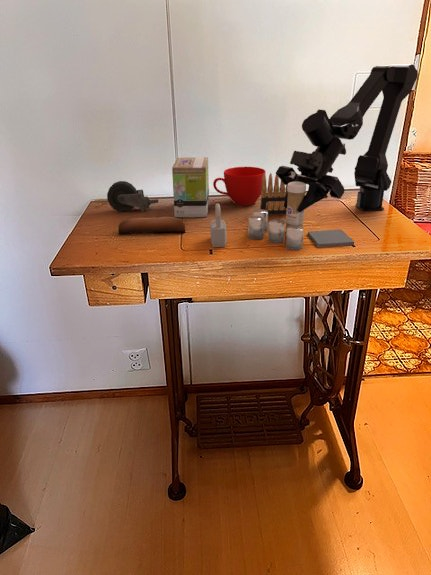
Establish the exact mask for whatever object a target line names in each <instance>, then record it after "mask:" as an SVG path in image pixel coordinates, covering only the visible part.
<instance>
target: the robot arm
mask: <svg viewBox="0 0 431 575" xmlns="http://www.w3.org/2000/svg"><path fill="white" fill-rule="evenodd" d="M418 75H419V73H418V69H417V68H416V66H415V65H414V64H412V63H411V64H408V63H406V64H405V63H404V64H403V63H402V64H400V63H398V64H397V63H395V64H393V63H392V64H388V65H387V64H385V65H383V64H379V65H375V66H373V67H372V69H371V71H370V74H369V75H368V77H367V78H366V79H365V81H364V82H363V83H362V85H361V86H360V87H359V89H358V90H357V92H356V93H355V94H354V96H353V97H352V98H351V100H350V101H349V102H348V103H347V104H346V105H344V106H342V107H341V108H339V109H337V111H335V112H334V113H333V114H332V115H331V116H330V117H329V116H328V113H327V111H326V109H317V110H316V112H314V113H312V114H309V115H308V116H307V117H306V118H305V119H304V120H303V121H302V124H301V129H302V131H303V132H304V134H305V135H306V138H307V139H308V140H309V141H310V143H311V145H312V146H314V147H316V149H315V150H314V151H312V152H311V153H310V152H304V151H298V150H293V153H292V156H291V159H290V162H289V164H290V165H294V166H296V167H297V171H298V172H299V174H298V173H297V172H296V170H295V169H294V168H293V167H291V166H286V165H281V166H279V167H278V168H277V170H276V172H275V176H276V175H277V176H278V177H279V181H280V182H281V181H282V182H283V183H284V184H285V187H286V186H287V187H288V183H290V182H303V183H305V184H306V185H308V190H307V192H305V197H304V198H303V200H302V202H301V203H300V205H299V207H298V209H297V211H298V212H302V211H303V210H304V211H305V210H306V209H308V208H310V207H312V206H313V205H314V204H316V203H318V202H319V201H321V200H323V199H328V197H329V196H330V197H331V198H334V199H338V200H339V199H341V198H342V197H343V195H344V193H345V186H344V185H343V184H342V182H341V180H340V179H339V178H338V176H335V175H330V174H329V175H328V173H333V171H334V168H333V167H332V166H333V165H334V163H335V162H336V160H337V158H338V157H339V155H344V156H345V155H346V154H347V149H346V143H343V142H342V140H348V141H349V140H354V139H355V138H356V137H357V135H358V133H360V130H361V129H362V127H363V126H364V125H363V124H364V116H365V114H366V112H368V110H369V109H370V108H371V106H372V105H373V104H374V102H375V101H376V100H377V98H378V97H379V95H380V93H381V92H382V96H383V99H382V102H381V105H380V109H379V112H378V116H377V119H376V122H375V125H374V129H373V133H372V136H371V139H370V142H369V145H368V149H367V151H366V152H365V153H364V154H363V155H362V154H360V155H358V158H357V162H356V165H355V167H354V173H353V174H354V182H355V186H356V187H359V191H358V192H357V194H356V196H357V197H356V203H355V206H356V207H357V208H359V209H360V210H361V211H364V212H371V211H383V210H384V211H385V207H383V202H384V201H383V200H384V197H385V196H384V194H385V192H386V191H388V190H389V189H390V187H391V185H392V179H391V178H390V176H389V174H388V172H387V171H388V167H389V164H388V160H387V155H386V154H387V151H388V148H389V143H390V140H391V138H392V134H393V131H394V128H395V124H396V122H397V119H398V118H397V117H398V115H399V112H400V108H401V106H402V102H403V101H404V99H406V98H407V97H408V96H409V95H410V94H411V92H412V90H413V88H414V86H415V83H416V81H417V79H418V77H419V76H418ZM341 139H342V140H341ZM328 194H329V196H328ZM287 199H288V191H287V193H286V197H285V202H284V208H287Z"/></svg>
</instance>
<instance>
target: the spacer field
mask: <svg viewBox="0 0 431 575" xmlns="http://www.w3.org/2000/svg"><path fill="white" fill-rule="evenodd" d="M247 226H248V229H247V230H248V236H247V237H248V239H250V240H254V241H255V240H258V241H259V240H262V239H264V237H265V233H266V232H268V235H267V236H268V239H267V240H268V241H267V242H269V243H270V244H274V245H275V244H283V243H284V242H285V249H287V250H289V251H301V250H302V249H303V243H304V229H305V227H304V226H299V225H291V226H288V227H287V234H285V231H286V220H284V219H281V218H273V219H269V215H268V211H266V210H260V209H255V210H253V211H252V215H251V216H249V217H248V225H247ZM285 235H286V237H285ZM285 238H286V239H285ZM285 240H286V241H285Z"/></svg>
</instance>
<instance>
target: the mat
mask: <svg viewBox="0 0 431 575" xmlns="http://www.w3.org/2000/svg"><path fill="white" fill-rule="evenodd" d="M307 235H308V237H309V238H310V239H311V240H312V242H313V243H314V244H315V245H316V247H317V248H328V247H342V246H354V245H355V241H354V240H353V239H352V238H351V237H350V236H349V235H348V234H347V233H346V232H345V231H344V230H343V229H342V228H340V229H325V230H308V231H307Z"/></svg>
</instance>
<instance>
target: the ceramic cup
mask: <svg viewBox="0 0 431 575" xmlns="http://www.w3.org/2000/svg"><path fill="white" fill-rule="evenodd" d="M264 173H265V175H266V170H265V169H264V168H260V167H255V166H235V167H230V168H227V169H225V170H224V171H223V177H217V178H215V179H214V180H213V182H212V183H213V184H212V186H213V188H214V190H215V191H216V192H217V193H218V194H222V195H224V196H225V195H226V196H228V198H230V199H231V201H232V202H233V203H234V205H236V206H243V207H244V206H252V205H254V204H255V203H256V202H257V201H258V200H259V199H260V198H261V187H262V178H263V174H264ZM219 181H222V182H223V183H224V187H225V190H226V192H225V191H222V190H220V189H218V187H217V182H219Z"/></svg>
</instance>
